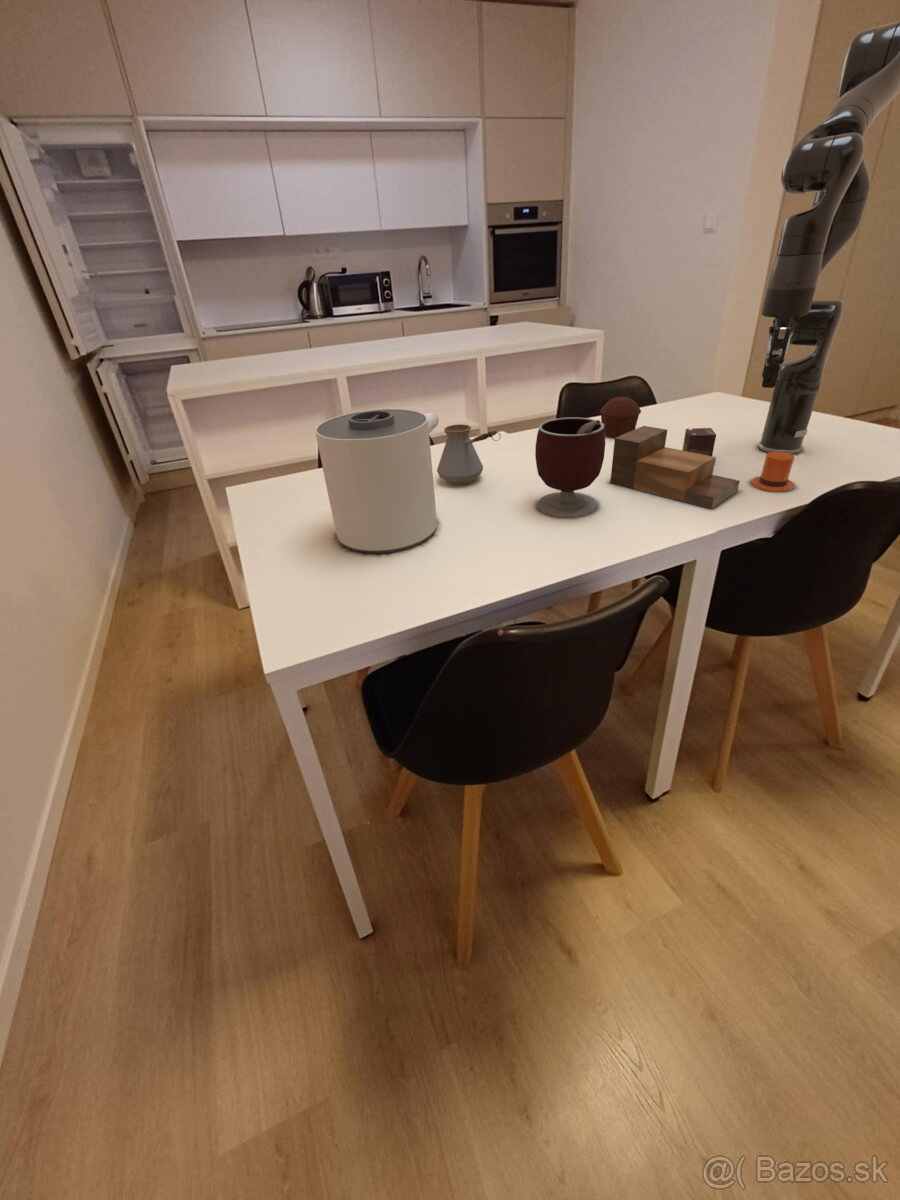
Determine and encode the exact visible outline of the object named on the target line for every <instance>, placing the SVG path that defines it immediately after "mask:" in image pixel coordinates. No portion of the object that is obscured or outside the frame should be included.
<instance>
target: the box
mask: <svg viewBox="0 0 900 1200" xmlns="http://www.w3.org/2000/svg"><path fill="white" fill-rule="evenodd" d="M716 438H717V433H716V432H715V431H714V430H713V428H712V427H698V428H697V427H696V428H695V427H692V428H691V427H690V428H689V427H688V428H686V429H685V432H684V437H683V444H682V449H681V450H682V451H687V452H693V453H698V454H703V455H708V456H713V453H714V448H715V444H716V440H717V439H716Z"/></svg>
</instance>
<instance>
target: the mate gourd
mask: <svg viewBox="0 0 900 1200" xmlns="http://www.w3.org/2000/svg"><path fill="white" fill-rule="evenodd" d="M535 439H536V440H535V451H534V453H535V455H534V456H535V466H536V470H537V474H538V476H539V478H540V479H541V480H542V482H543V483H544V484H545V486H546V487H548V488H551V489H554V490H557V491H560V492H552V493H549V494H546V495H544V496H542V497H541V498H540V499H539V500H538V502H537V506H538V507H537V508H538V509H539V511H541V512H542V513H543V514H545V515H548V516H552V517H555V518H556V517H557V518H579V517H583V516H587V515H589V514H591V513H592V512H594V511H595V510H596V506H597V502H596V500H595V499H594V498H593V497H591V496H590V495H587V494H584V493H580V492H575V491H578V490H583V489H585V488H588V487H590V486H591V485H592V484H593V482H594V481H596V479H597V478H598V477H599V475H600V473H601V470H602V468H603V464H604V460H605V452H606V451H605V450H606V436H605V432H604V424H603V423H602V422H601V420H600V419H594V418H588V417H578V416H577V417H576V416H575V417H574V416H573V417H572V416H570V417H569V416H568V417H559V418H553V419H548V420H546V421H542V422H541V423H540V424H539V425H538V429H537V434H536V438H535Z"/></svg>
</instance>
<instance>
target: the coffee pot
mask: <svg viewBox="0 0 900 1200" xmlns="http://www.w3.org/2000/svg"><path fill="white" fill-rule="evenodd" d="M471 430H472V427H471V426H470V425H469V424H463V423H462V424H460V423H459V424H451V425H448V426H446V427H444V429H443V431H444V434H446V437H447V438H446V441H445V444H444V446H443V450H442V453H441V456H440V459H439V461H438V465H437V468H436V472H437V474H438V477H439V478H440V479H441V480H442V481H445V483H446V484H449V485H452V486H465V485H470V484H472V483H474V482H476V480H477V479H478V478H479V477H480V476H481V474H482V473H483V470H484V466H483V463H482V461H481V459H480V457H479V455H478V452H477V450H476V449H475V446H474V445H473V443H477V442H481V441H485V440H487V439H489V438H491V439H492V440H493V441H494V442H498V441H499V440H500V439H501V438H502V437H501V436H502V435H501V433H500V432H498V431H497V430H493V431H488V432H486V433H482V434H480V435H478V436H476V437H474V438H470V431H471ZM497 434H498V435H499V438H498V439H494V437H493V436H495V435H497Z"/></svg>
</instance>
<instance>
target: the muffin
mask: <svg viewBox="0 0 900 1200" xmlns="http://www.w3.org/2000/svg"><path fill="white" fill-rule="evenodd" d="M599 411H600V419H601V420H600V422H602V423H603V424H604V432H605V438H612V439H615V438H616V437H619V436H621V435H623V434H626V433H628V432H630V431H633V430H635V429H636V427H637V424H638V419H639V416H640V415H641V413H642V410H641V408H640V406H639V405H638V403H637V402H636V401H635V400H634V399H632V398H631V397H628V396H617V397H613V398H611V399H609V400H608V401H607V402H606V403H605V404H604V405H603V406H602V408H601V409H600V410H599Z"/></svg>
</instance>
